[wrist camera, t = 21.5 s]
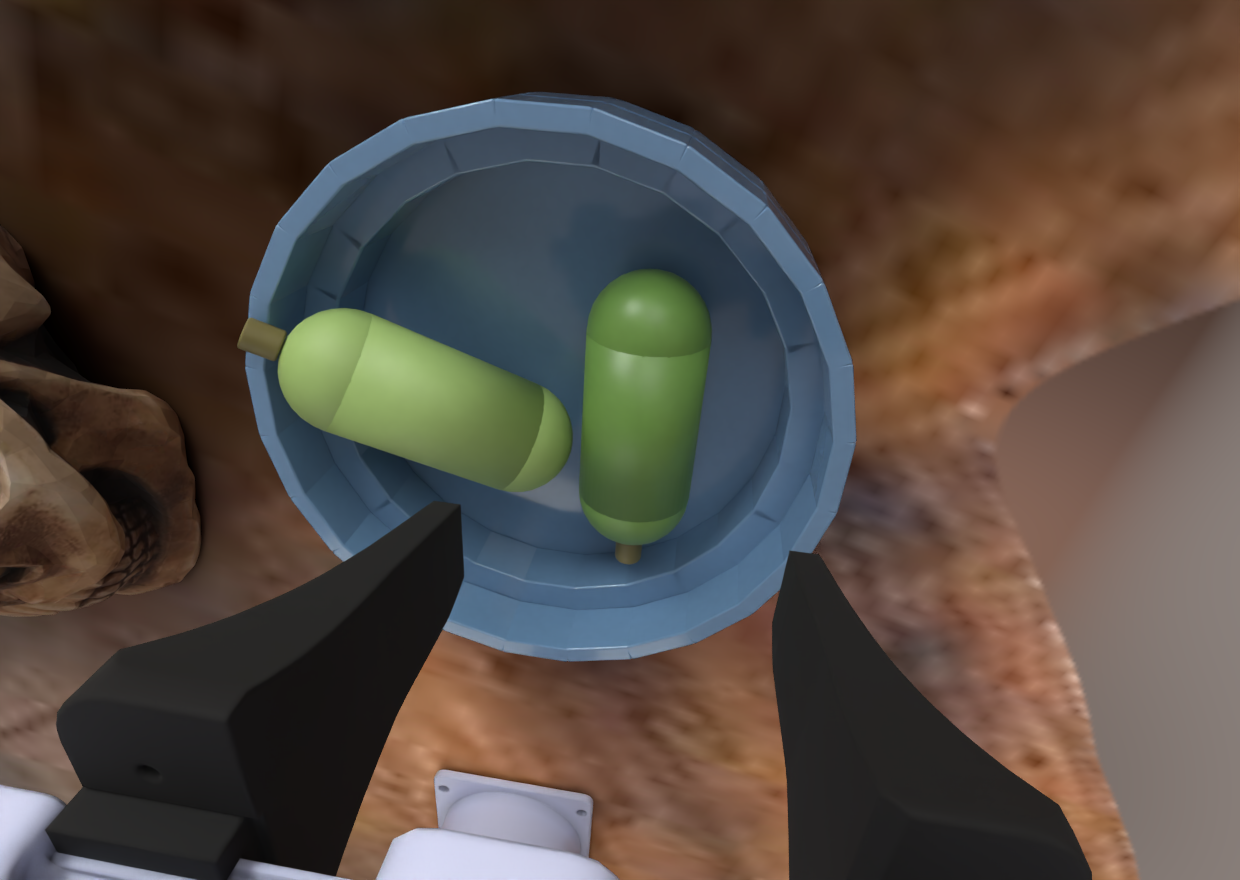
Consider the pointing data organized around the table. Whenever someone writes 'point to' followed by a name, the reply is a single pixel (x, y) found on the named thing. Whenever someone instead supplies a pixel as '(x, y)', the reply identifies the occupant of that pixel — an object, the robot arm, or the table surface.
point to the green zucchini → (642, 406)
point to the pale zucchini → (416, 398)
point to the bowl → (569, 358)
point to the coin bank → (81, 471)
